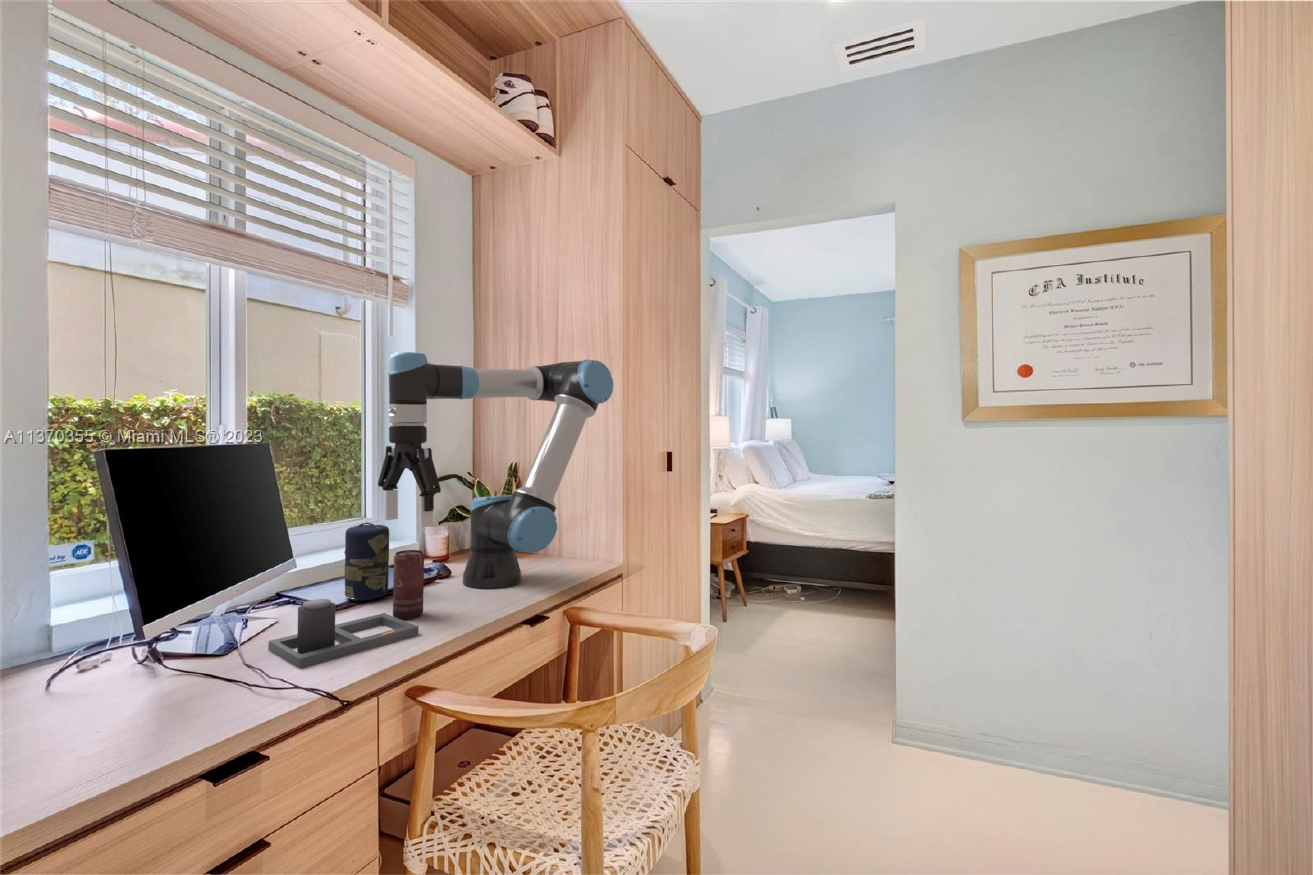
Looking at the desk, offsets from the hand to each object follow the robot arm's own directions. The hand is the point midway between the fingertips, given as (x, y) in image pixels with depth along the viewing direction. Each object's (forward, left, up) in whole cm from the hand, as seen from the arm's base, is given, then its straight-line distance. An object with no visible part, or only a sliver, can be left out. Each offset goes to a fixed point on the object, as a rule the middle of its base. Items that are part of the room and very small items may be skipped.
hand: (408, 523), depth 130 cm
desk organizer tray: (+15, +5, -20) cm, 26 cm away
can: (-1, 0, -21) cm, 21 cm away
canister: (-2, -20, -21) cm, 29 cm away
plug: (+21, +5, -20) cm, 30 cm away
